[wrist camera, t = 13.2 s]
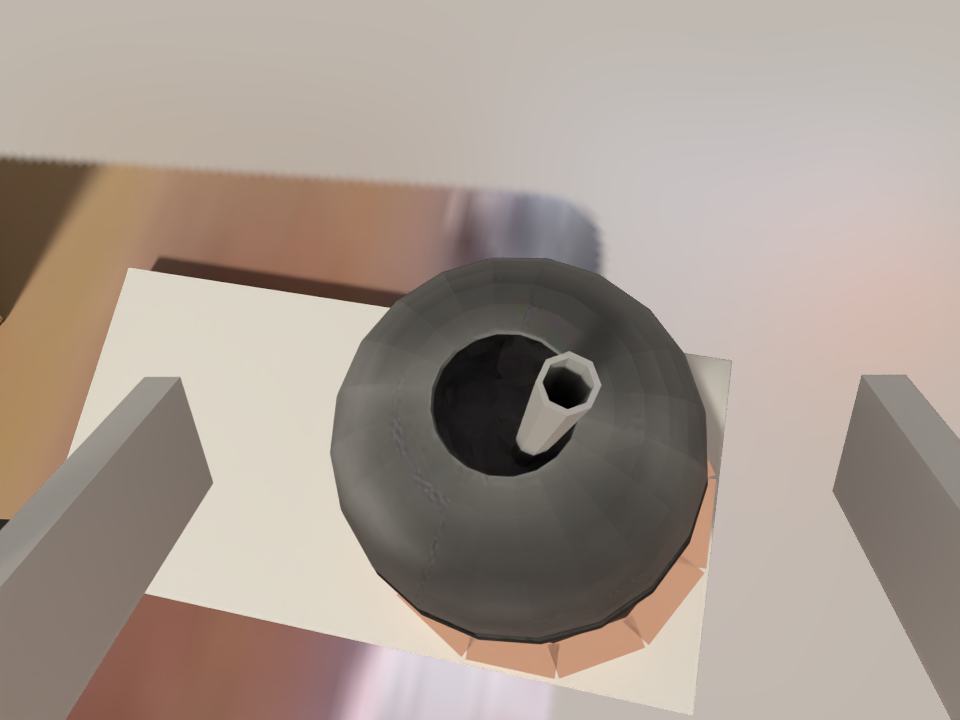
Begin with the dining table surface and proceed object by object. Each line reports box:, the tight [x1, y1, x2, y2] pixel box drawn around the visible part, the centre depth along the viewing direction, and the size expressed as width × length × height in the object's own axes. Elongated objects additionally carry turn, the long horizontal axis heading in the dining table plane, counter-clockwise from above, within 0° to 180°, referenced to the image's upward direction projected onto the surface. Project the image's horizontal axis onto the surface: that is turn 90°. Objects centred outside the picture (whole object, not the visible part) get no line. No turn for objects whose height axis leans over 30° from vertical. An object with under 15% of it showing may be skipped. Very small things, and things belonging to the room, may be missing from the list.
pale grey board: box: [67, 268, 732, 715], centre depth 27 cm, size 24×12×1 cm, turn 79°
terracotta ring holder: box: [394, 457, 716, 679], centre depth 24 cm, size 11×11×2 cm
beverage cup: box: [330, 258, 708, 645], centre depth 15 cm, size 7×7×20 cm
